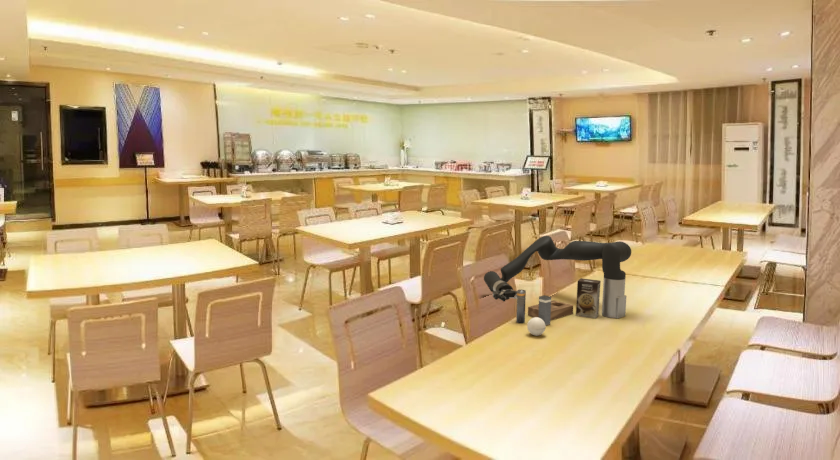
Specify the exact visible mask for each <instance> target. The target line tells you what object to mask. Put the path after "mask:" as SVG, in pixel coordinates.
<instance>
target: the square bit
mask: <svg viewBox="0 0 840 460" xmlns="http://www.w3.org/2000/svg"><path fill="white" fill-rule="evenodd" d="M551 301H552V296H549V295H545V294H544V295H540V296H538V304H539V315H538V318H541V319H542V320H543V321H544V322H545V326H546V327H547V326H549V325H551V320H550V319H551ZM546 324H547V325H546Z"/></svg>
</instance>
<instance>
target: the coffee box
mask: <svg viewBox="0 0 840 460" xmlns="http://www.w3.org/2000/svg"><path fill="white" fill-rule="evenodd" d="M600 294H601V280H599V279H598V280H597V279H590V278H582V277H581V278H579V279H578V280H577V287H576V302H575V303H576V304H575V316H577V317H584V318H591V319H597V318H598V317H599V314H600V313H599V312H600V309H599V308H600V297H601V295H600Z"/></svg>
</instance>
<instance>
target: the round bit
mask: <svg viewBox="0 0 840 460" xmlns="http://www.w3.org/2000/svg"><path fill="white" fill-rule="evenodd" d="M516 291H517V299H516V316H515V317H516V320H515V321H516V323H517V324H525V323H526V297H527V295H526V293H527V292H526V291H527V290H526V289H517V290H516Z"/></svg>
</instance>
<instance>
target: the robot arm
mask: <svg viewBox="0 0 840 460" xmlns="http://www.w3.org/2000/svg"><path fill="white" fill-rule="evenodd" d="M536 252H537V253H538V256H539V257H540V258H541V259H542V260H544V261H556V260H557V261H558V260H559V261H560V260H569V261H583V262H584V261H595V260H601V263H602V264H601V270H602V273H603V281H602V282H603V283H602V284H603V285H602V286H603V287H602V301H601V303H602V305H601V315H602V316H603V317H606V318H614V319H621V318H624V317H626V309H627V295H626V294H625V292H626V278H627V277H626V275H627V274H626V272H625V271H624V270H622V269H621V263H623V262H626V261H628V260H629V258H630V257H631V255H632V248H631V247H630V246H629V244H628V243H626V242H624V241H619V240H618V241H614V242H597V241H587V240H572V241H570V242H569V243H568V244H567V245H566V246H564V248H558V247H557V246H556V244H555V242H554V240H553V239H552V237H551V236H549V235H543V236H540V237H539V238H537V239H536V240H535V241H534V242H533V243H531V244H530V245H529V246H528V247H527V248H525V250H523V251H522V252H521V253H520V254H519V255H518V256H516V257H515V258H514V259H513V260H511V261H510V262H508V263H507V264H506V265H504V266H502V267H501V268H500V272H501V277H500V276H499V274H498V273H497V272H496V271H492V270H489V271H488V272H486V273H485V274H484V275H483V280H484V283H485V284H486V286H487V287H488V289H489V291H490V292H492V298H494V300H499V301H502V302H506V301H507V300H509V299H516V300H517V290H515V289H514V288H513V287H512V286H511V285H510V284H509V283H508V282H509V281H510V280H512V279H513V278H514V277H516V276H517V275H519V274H520V273H521V272H522V271H523V270H524V269H525V267H526V265H527V264H528V262H529V260H530V259H531V257H532V256H533V255H534V254H535V253H536Z"/></svg>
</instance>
